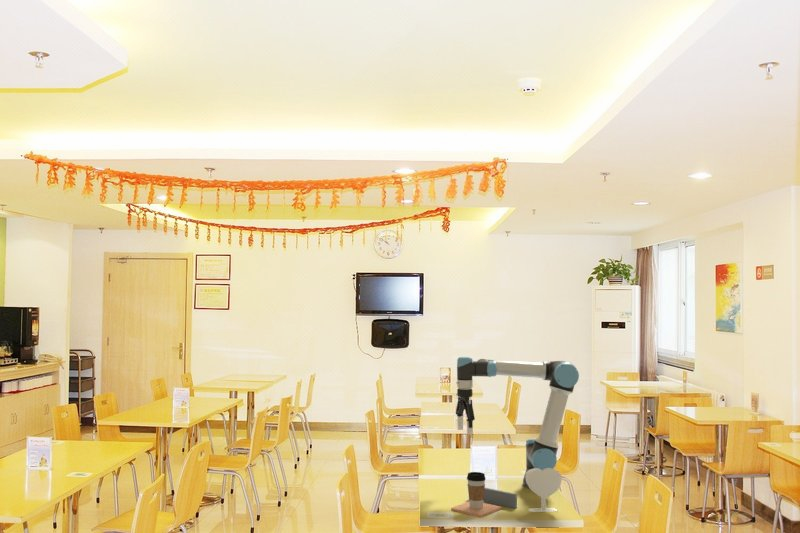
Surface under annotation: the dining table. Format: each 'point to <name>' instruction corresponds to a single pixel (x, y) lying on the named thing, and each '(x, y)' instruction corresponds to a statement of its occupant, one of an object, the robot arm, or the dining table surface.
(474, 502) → the coffee cup
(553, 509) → the heart sculpture
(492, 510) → the terracotta tile
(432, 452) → the dining table surface
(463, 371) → the robot arm
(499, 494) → the gray rectangular board
